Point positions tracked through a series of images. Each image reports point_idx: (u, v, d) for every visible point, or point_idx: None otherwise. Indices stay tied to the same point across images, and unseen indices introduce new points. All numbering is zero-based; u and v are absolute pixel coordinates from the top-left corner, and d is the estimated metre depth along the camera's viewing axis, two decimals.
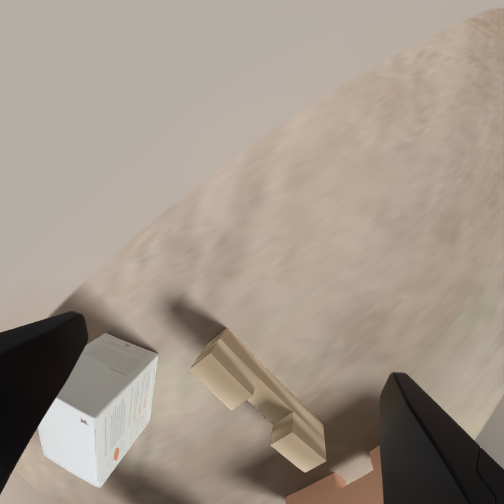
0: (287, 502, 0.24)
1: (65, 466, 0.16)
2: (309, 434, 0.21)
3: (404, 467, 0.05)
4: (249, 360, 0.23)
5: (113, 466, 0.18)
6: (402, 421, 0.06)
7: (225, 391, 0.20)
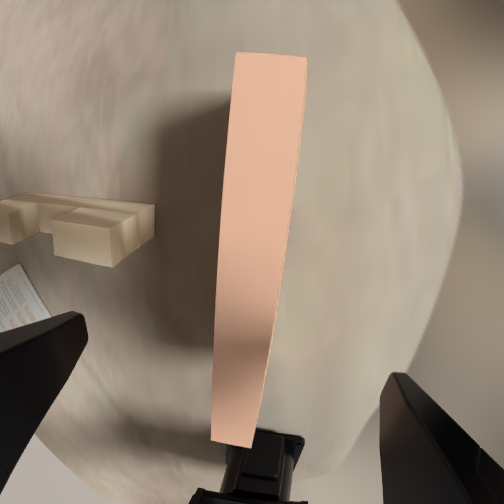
0: None
1: None
2: (94, 215, 0.15)
3: (404, 467, 0.05)
4: (36, 198, 0.18)
5: None
6: (402, 421, 0.06)
7: None
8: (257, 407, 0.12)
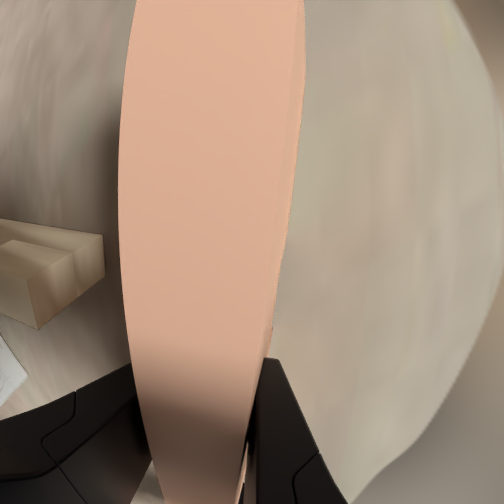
0: None
1: None
2: (21, 254, 0.10)
3: (249, 457, 0.06)
4: None
5: None
6: (254, 408, 0.06)
7: None
8: None
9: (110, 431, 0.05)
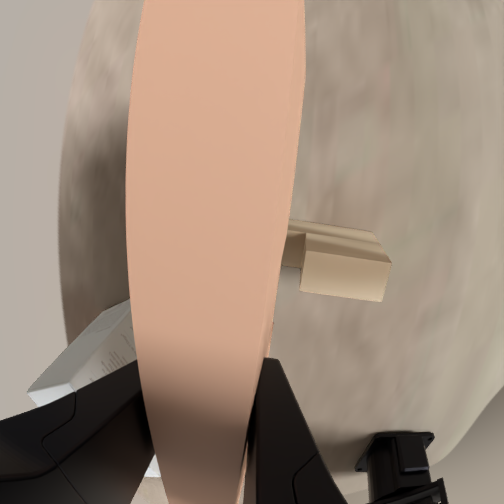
0: None
1: None
2: (345, 245, 0.15)
3: (249, 457, 0.06)
4: None
5: None
6: (253, 408, 0.06)
7: None
8: None
9: (110, 431, 0.05)
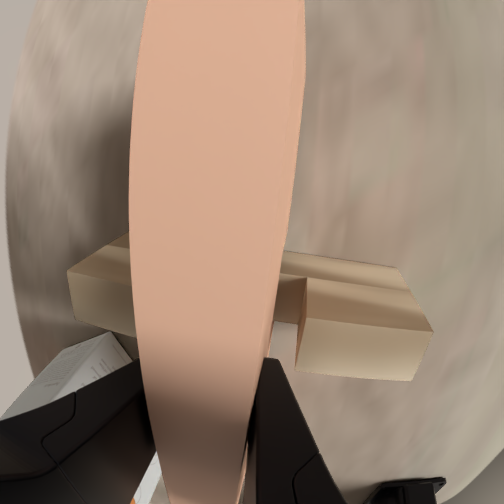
0: None
1: None
2: (364, 299, 0.10)
3: (249, 457, 0.06)
4: None
5: None
6: (253, 407, 0.06)
7: (132, 318, 0.10)
8: None
9: (110, 431, 0.05)
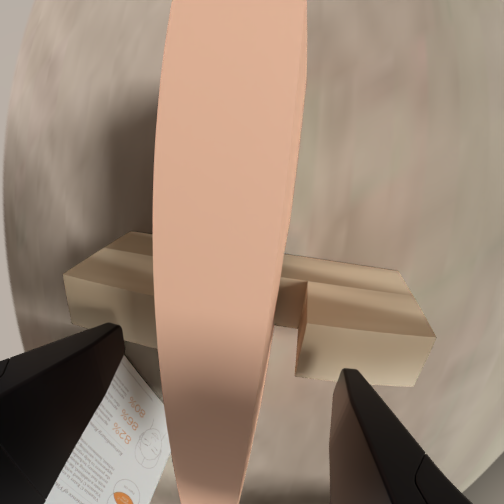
0: None
1: None
2: (366, 304, 0.10)
3: (346, 467, 0.05)
4: None
5: None
6: (346, 419, 0.06)
7: (129, 323, 0.10)
8: (236, 501, 0.08)
9: (29, 392, 0.05)
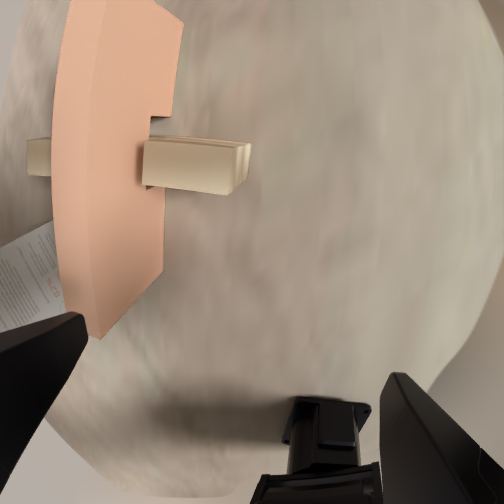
0: None
1: None
2: (196, 142, 0.14)
3: (404, 467, 0.05)
4: None
5: None
6: (402, 421, 0.06)
7: None
8: (91, 279, 0.12)
9: None
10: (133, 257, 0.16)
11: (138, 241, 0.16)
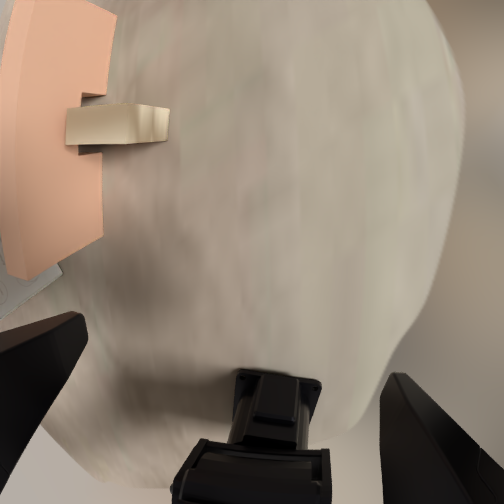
0: None
1: None
2: None
3: (404, 467, 0.05)
4: None
5: None
6: (402, 421, 0.06)
7: None
8: (18, 222, 0.13)
9: None
10: (65, 213, 0.17)
11: (70, 200, 0.17)
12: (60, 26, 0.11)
